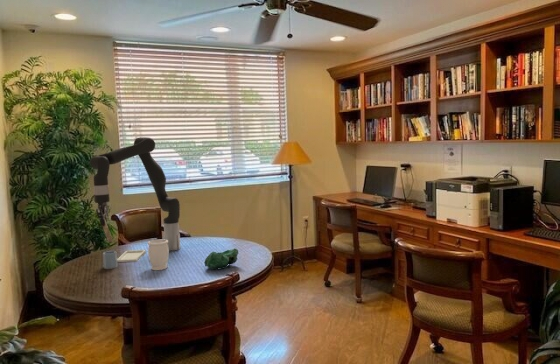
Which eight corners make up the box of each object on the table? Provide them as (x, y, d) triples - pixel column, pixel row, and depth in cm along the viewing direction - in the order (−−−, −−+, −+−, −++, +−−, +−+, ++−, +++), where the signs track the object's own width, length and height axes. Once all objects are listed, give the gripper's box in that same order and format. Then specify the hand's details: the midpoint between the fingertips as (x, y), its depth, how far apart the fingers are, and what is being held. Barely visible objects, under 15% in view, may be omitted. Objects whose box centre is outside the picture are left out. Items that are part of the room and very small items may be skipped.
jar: (151, 272, 226) (149, 244, 224) (147, 267, 235) (146, 240, 233) (171, 269, 231) (170, 241, 229) (167, 264, 240) (165, 238, 238)
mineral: (226, 261, 243) (226, 244, 242) (244, 266, 232) (244, 248, 231) (199, 268, 231) (198, 250, 230) (216, 274, 219) (216, 255, 218)
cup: (118, 266, 238) (117, 250, 237) (115, 269, 232) (114, 253, 231) (106, 266, 238) (105, 251, 237) (102, 270, 231) (101, 254, 230)
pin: (113, 241, 235) (110, 212, 233) (112, 242, 232) (109, 213, 231) (102, 242, 234) (99, 213, 233) (101, 243, 232) (97, 214, 230)
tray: (145, 253, 266) (145, 249, 266) (136, 262, 245) (136, 259, 244) (126, 253, 265) (126, 250, 265) (116, 263, 244) (115, 260, 244)
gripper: (104, 194, 224) (106, 227, 226) (112, 191, 238) (114, 222, 239) (89, 195, 223) (92, 228, 225) (98, 192, 237) (100, 223, 239)
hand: (103, 225), depth 232 cm, fingers closed on pin, 2 cm apart
